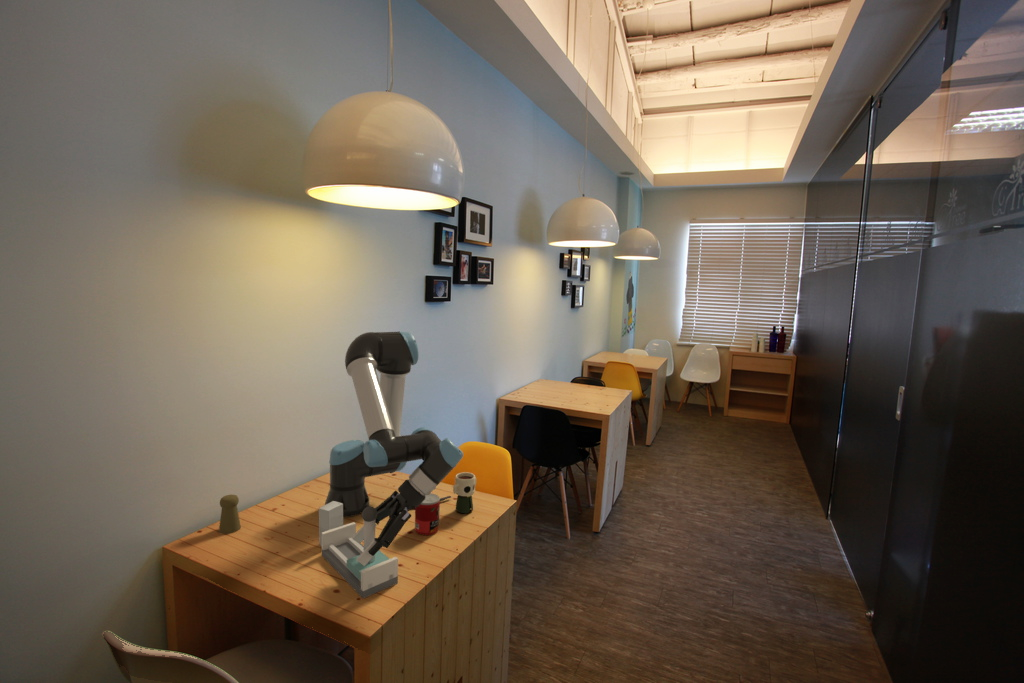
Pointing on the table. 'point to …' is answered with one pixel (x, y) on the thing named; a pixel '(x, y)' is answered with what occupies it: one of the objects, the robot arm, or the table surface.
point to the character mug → (464, 491)
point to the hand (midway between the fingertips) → (357, 551)
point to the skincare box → (330, 517)
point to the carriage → (367, 544)
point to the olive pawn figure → (229, 515)
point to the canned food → (427, 515)
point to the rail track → (343, 547)
